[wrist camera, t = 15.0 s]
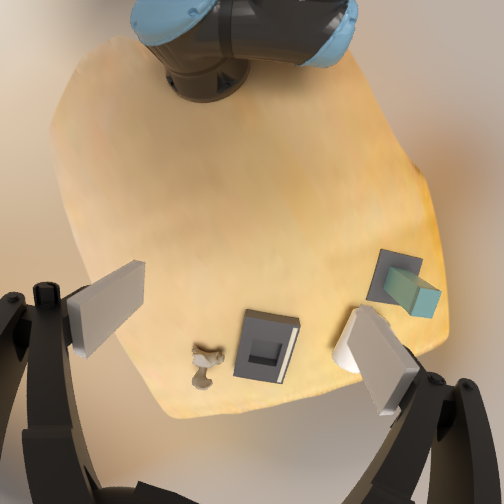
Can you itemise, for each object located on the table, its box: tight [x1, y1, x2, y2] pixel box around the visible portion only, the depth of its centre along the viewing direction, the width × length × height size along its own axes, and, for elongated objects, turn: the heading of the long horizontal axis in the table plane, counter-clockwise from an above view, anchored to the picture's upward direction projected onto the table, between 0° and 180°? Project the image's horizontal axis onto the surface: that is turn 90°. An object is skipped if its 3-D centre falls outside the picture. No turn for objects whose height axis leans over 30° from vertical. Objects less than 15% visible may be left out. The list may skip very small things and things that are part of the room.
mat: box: [366, 249, 423, 306], centre depth 46 cm, size 10×10×1 cm
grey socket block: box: [233, 309, 301, 384], centre depth 50 cm, size 14×10×3 cm
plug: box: [383, 267, 441, 318], centre depth 40 cm, size 5×5×12 cm
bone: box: [192, 345, 225, 390], centre depth 49 cm, size 9×6×10 cm
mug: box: [332, 308, 395, 373], centre depth 46 cm, size 12×10×8 cm
